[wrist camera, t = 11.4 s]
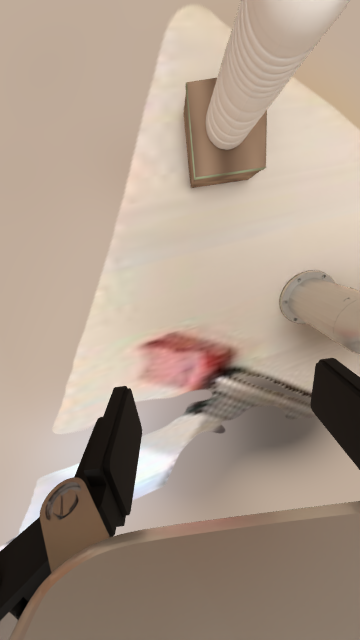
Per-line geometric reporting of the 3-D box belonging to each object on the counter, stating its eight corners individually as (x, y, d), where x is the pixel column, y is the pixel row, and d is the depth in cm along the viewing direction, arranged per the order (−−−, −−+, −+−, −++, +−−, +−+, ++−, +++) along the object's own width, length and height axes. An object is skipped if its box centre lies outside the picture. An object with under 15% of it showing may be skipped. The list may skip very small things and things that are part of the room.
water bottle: (195, 125, 30) (276, -228, 7) (228, 80, 29) (469, -574, 5) (236, 173, 33) (395, 24, 10) (268, 134, 31) (555, -161, 8)
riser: (248, 103, 36) (268, 68, 28) (248, 179, 40) (266, 167, 33) (183, 113, 36) (186, 81, 28) (190, 188, 40) (194, 178, 33)
